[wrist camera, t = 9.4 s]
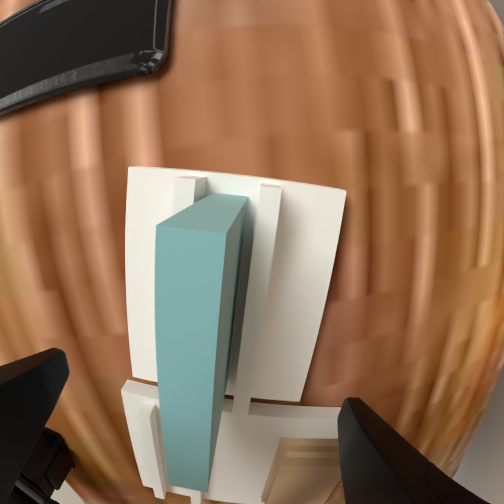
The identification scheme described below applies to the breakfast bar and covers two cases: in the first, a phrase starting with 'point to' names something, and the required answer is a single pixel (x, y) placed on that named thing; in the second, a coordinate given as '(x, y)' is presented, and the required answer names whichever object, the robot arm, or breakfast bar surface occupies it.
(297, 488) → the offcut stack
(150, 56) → the phone
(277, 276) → the storage stand
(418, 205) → the breakfast bar surface
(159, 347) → the teal rectangular slab
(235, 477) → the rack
